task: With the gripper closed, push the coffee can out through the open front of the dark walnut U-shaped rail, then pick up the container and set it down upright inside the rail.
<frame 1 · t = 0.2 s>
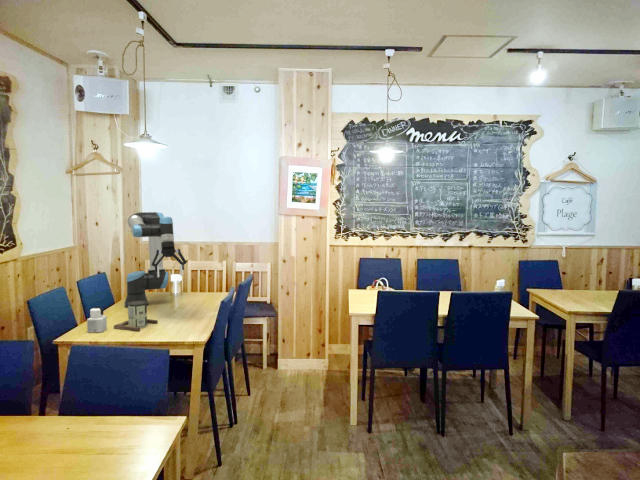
hand: (170, 276, 273), 28 cm above the table, tool tilted 20°, fingers open, 13 cm apart
container: (97, 331, 254), on the table
coffee can: (137, 326, 264), on the table
dock: (137, 326, 264), on the table
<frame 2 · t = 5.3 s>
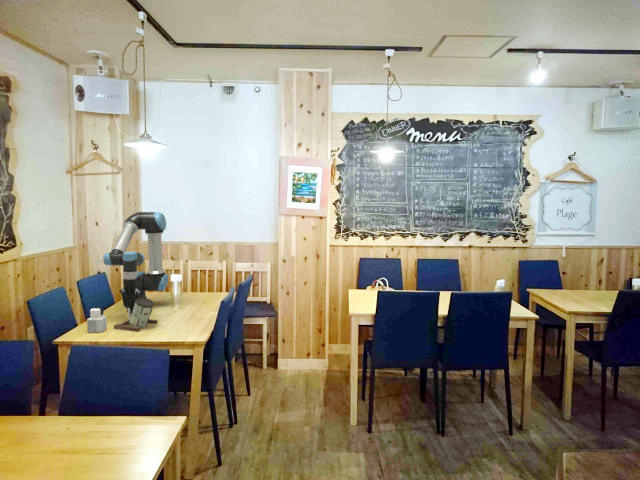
hand: (130, 318, 265), 4 cm above the table, tool pointing down, fingers closed
coffee can: (138, 323, 264), point 2 cm above the table, touching gripper, hand
everything else where it was.
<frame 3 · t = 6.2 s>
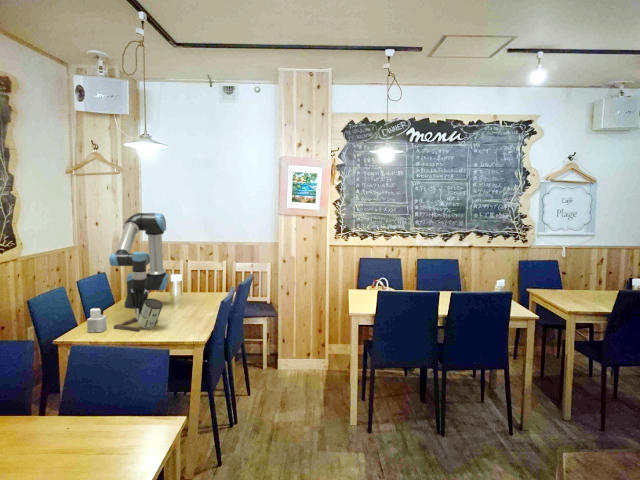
hand: (138, 318, 263), 5 cm above the table, tool pointing down, fingers closed
coffee can: (146, 324, 262), point 2 cm above the table, touching gripper, hand
everything else where it was.
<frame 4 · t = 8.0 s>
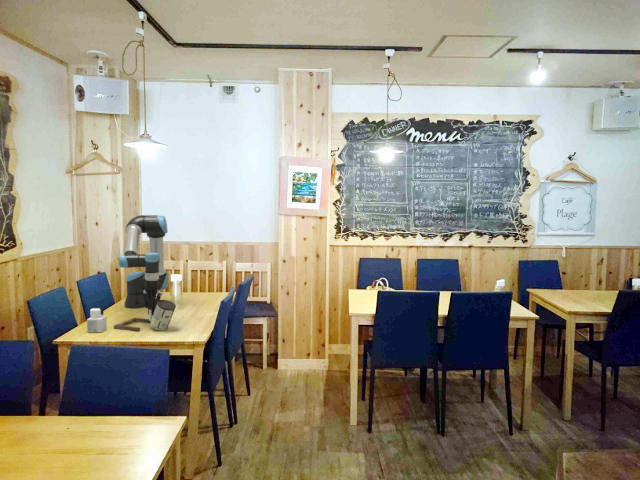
hand: (151, 320, 260), 5 cm above the table, tool pointing down, fingers closed
coffee can: (158, 325, 260), point 2 cm above the table, touching gripper, hand
everything else where it was.
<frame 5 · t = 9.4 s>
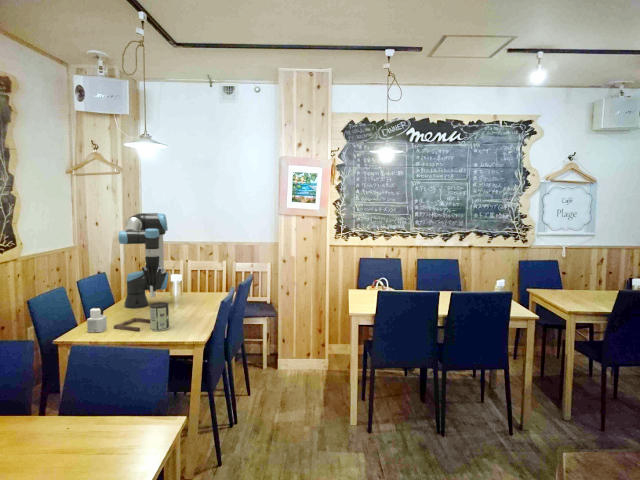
hand: (152, 296, 259), 18 cm above the table, tool pointing down, fingers closed
coffee can: (159, 328, 260), on the table
everything else where it was.
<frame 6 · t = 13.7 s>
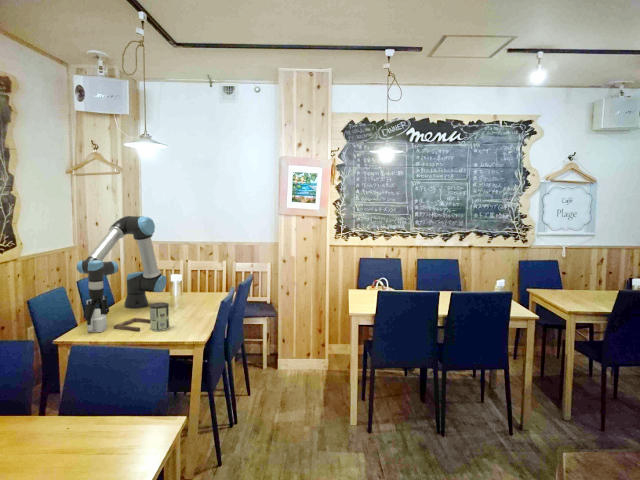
hand: (97, 327, 254), 2 cm above the table, tool pointing down, fingers closed on container, 9 cm apart
container: (97, 330, 254), on the table, touching gripper
everything else where it was.
when the fingers open (3 cm above the table, at t = 20.1 s): container drops 1 cm, on the table.
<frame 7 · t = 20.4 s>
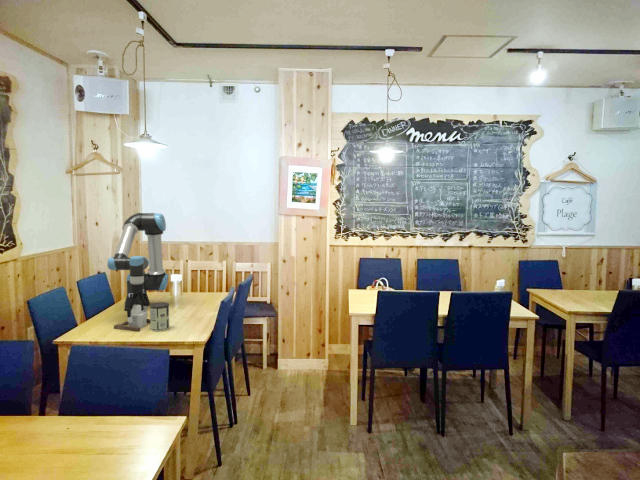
hand: (137, 319, 264), 4 cm above the table, tool pointing down, fingers open, 12 cm apart
container: (137, 326, 264), on the table
everything else where it was.
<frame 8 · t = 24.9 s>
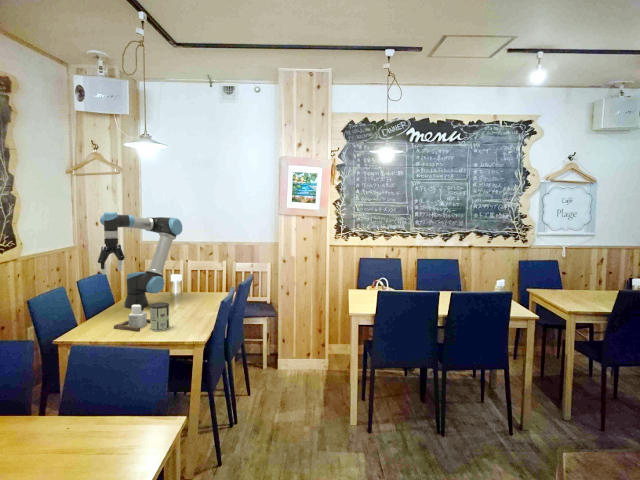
hand: (111, 272, 276), 29 cm above the table, tool pointing down, fingers open, 13 cm apart
nothing on the table moved.
at the end: container 0.1 cm off-centre on the dock, point 0.0 cm above the dock's base; container tilted 0°; coffee can inside the target area (10.9 cm from its centre), on the table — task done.
